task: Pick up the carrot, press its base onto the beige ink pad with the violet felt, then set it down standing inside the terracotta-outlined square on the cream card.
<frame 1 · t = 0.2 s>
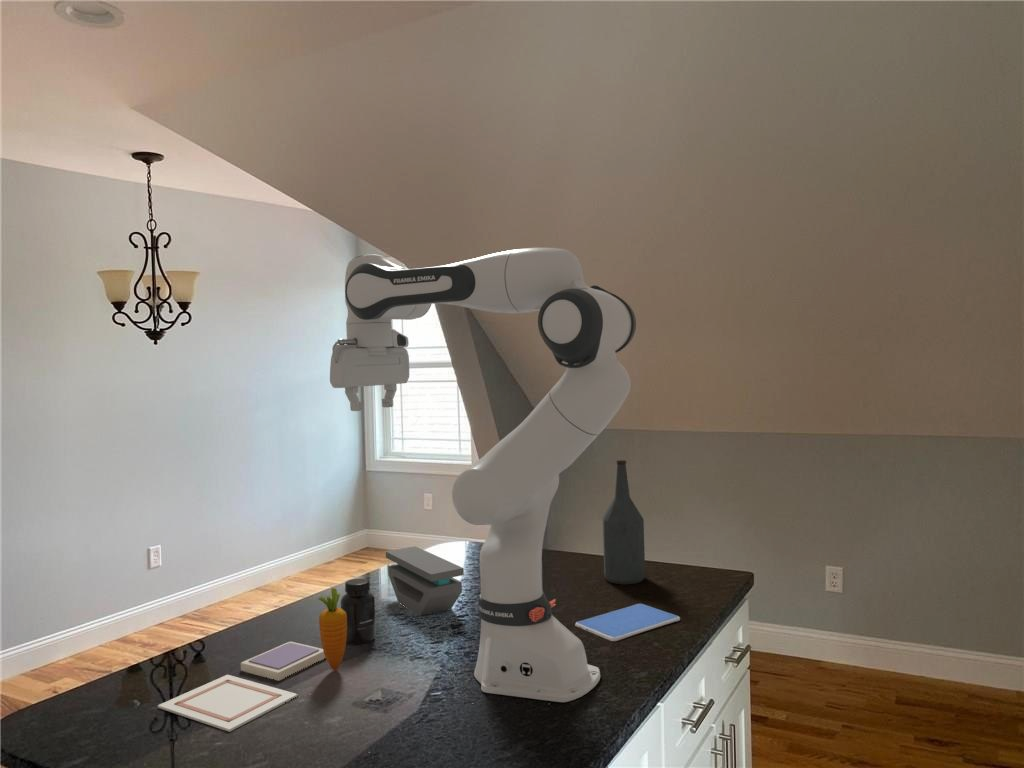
hand: (372, 409, 152), 47 cm above the counter, tool pointing down, fingers open, 8 cm apart
bottle: (624, 579, 194), on the counter
ink pad: (284, 663, 146), on the counter
tablet computer: (627, 626, 163), on the counter
supplement bottle: (358, 640, 158), on the counter
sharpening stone: (424, 607, 178), on the counter
print card: (228, 702, 130), on the counter
carrot: (335, 671, 142), on the counter
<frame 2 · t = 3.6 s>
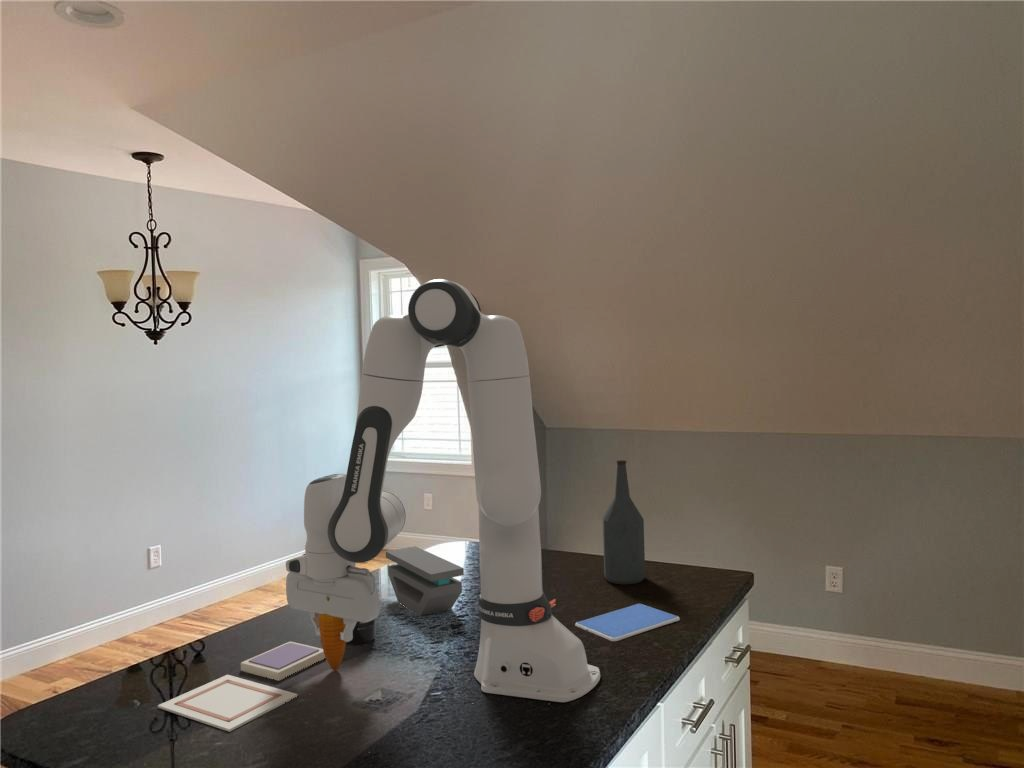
hand: (333, 637, 142), 6 cm above the counter, tool pointing down, fingers closed on carrot, 5 cm apart
carrot: (335, 671, 142), on the counter, touching gripper
everything else where it was.
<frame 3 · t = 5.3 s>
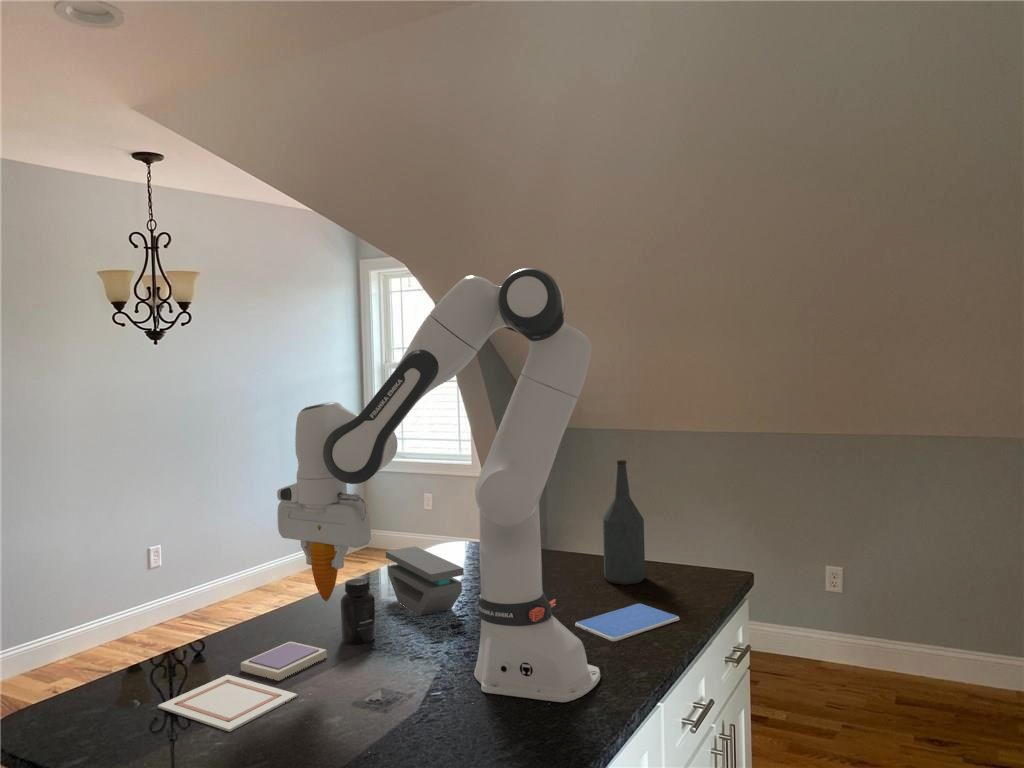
hand: (325, 566, 142), 19 cm above the counter, tool pointing down, fingers closed on carrot, 5 cm apart
carrot: (326, 602, 142), point 13 cm above the counter, touching gripper
everything else where it was.
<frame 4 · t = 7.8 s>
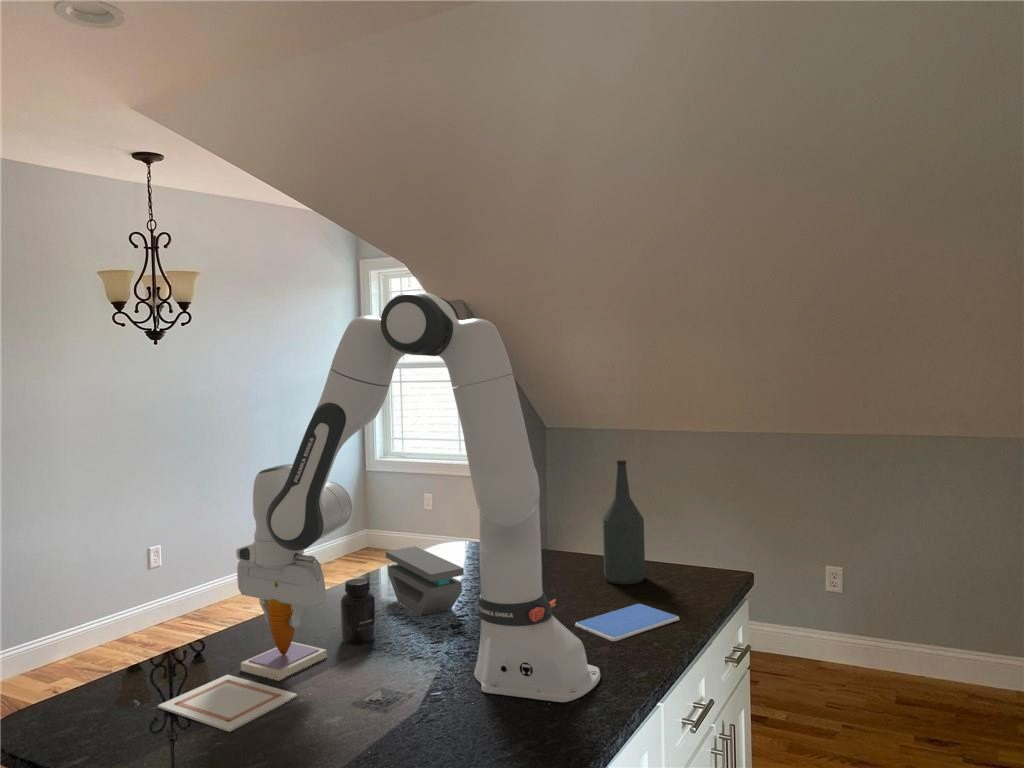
hand: (282, 623, 146), 8 cm above the counter, tool pointing down, fingers closed on carrot, 5 cm apart
carrot: (283, 656, 146), point 2 cm above the counter, touching gripper, ink pad
everything else where it was.
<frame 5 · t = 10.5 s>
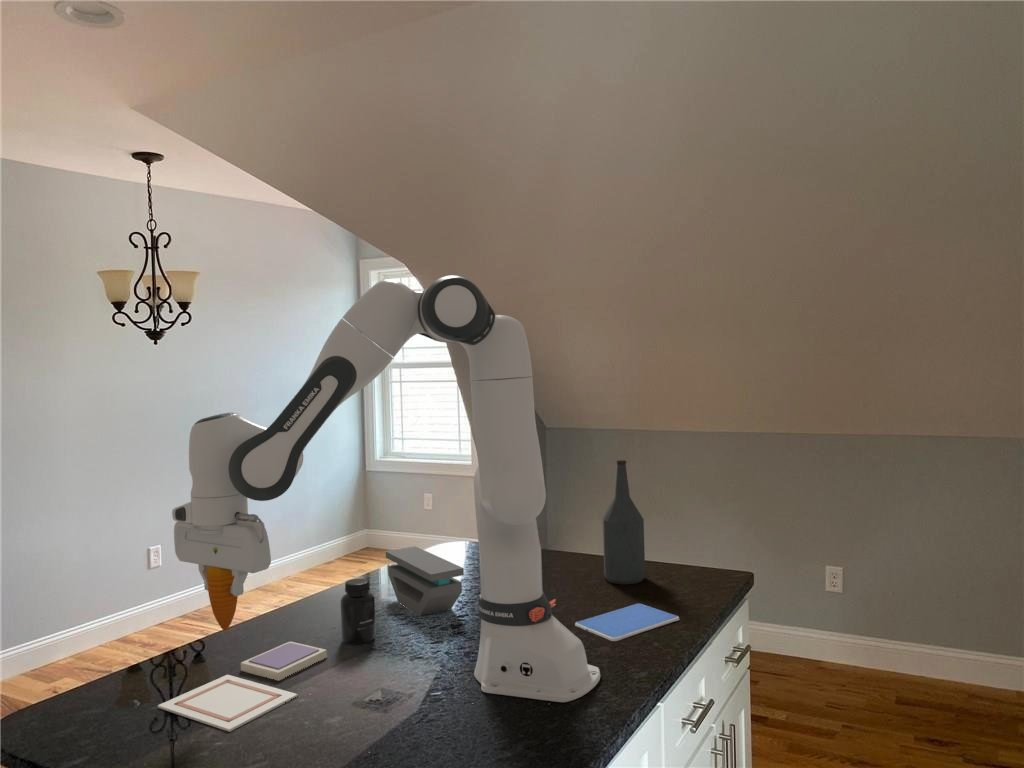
hand: (223, 592, 130), 19 cm above the counter, tool pointing down, fingers closed on carrot, 5 cm apart
carrot: (225, 631, 130), point 12 cm above the counter, touching gripper
everything else where it was.
when the fingers open (7 cm above the counter, at t = 12.9 s): carrot stays where it is, resting on print card.
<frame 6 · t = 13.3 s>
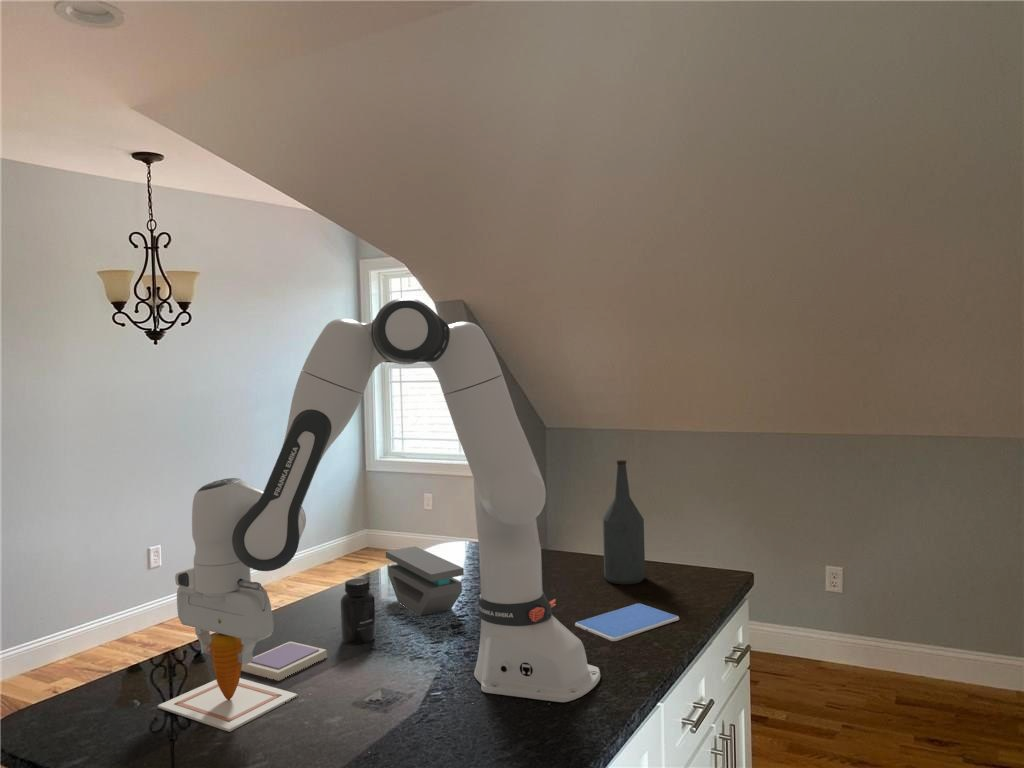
hand: (226, 657, 130), 8 cm above the counter, tool pointing down, fingers open, 8 cm apart
carrot: (229, 700, 130), resting on print card
everything else where it was.
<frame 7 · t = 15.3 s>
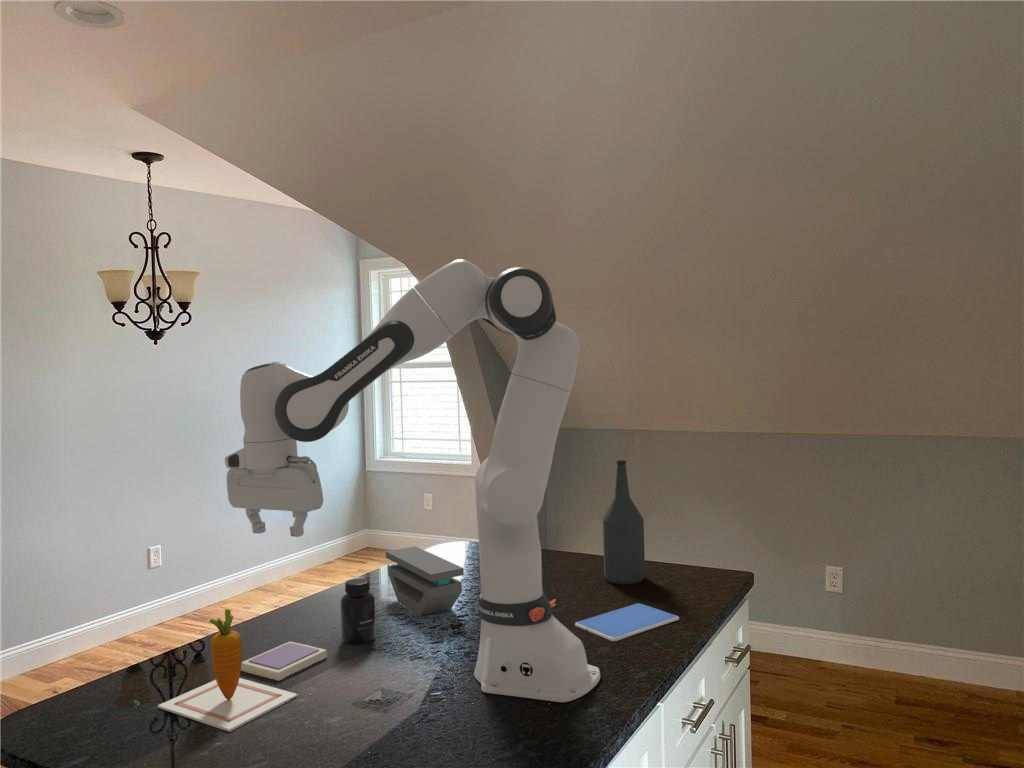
hand: (277, 534, 136), 27 cm above the counter, tool pointing down, fingers open, 8 cm apart
nothing on the counter moved.
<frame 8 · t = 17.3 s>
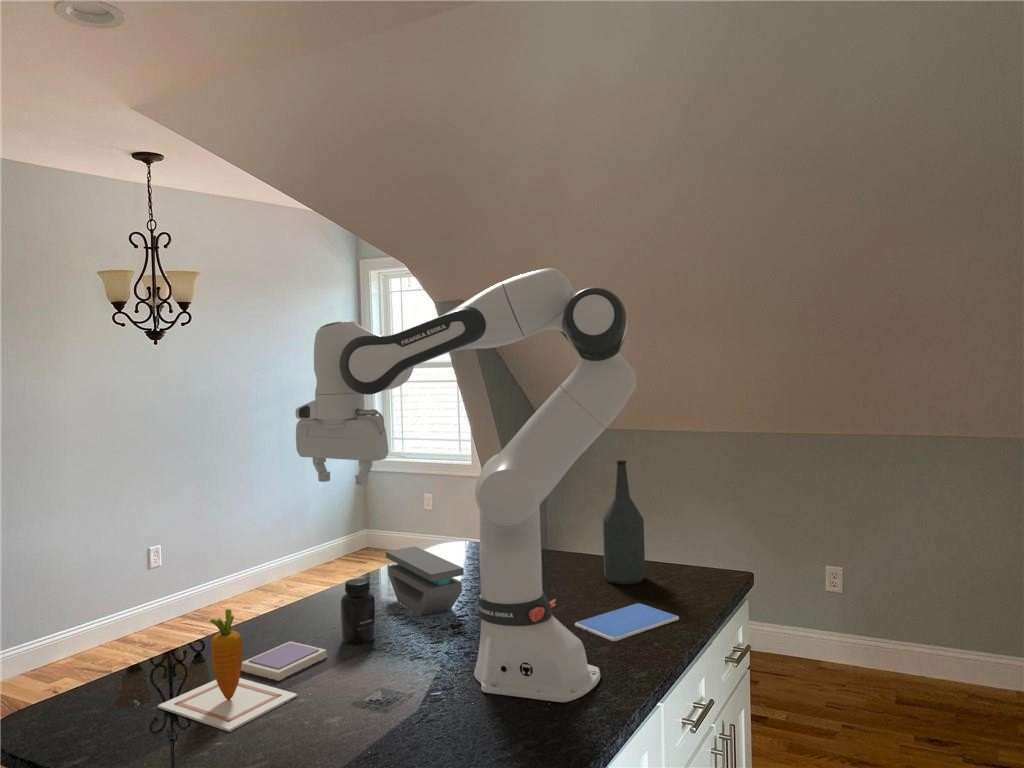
hand: (342, 482, 144), 34 cm above the counter, tool pointing down, fingers open, 8 cm apart
nothing on the counter moved.
at the end: carrot inside the target area on the print card (0.1 cm from its centre), point 0.2 cm above the print card's base; carrot tilted 0°; the gripper is holding nothing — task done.
